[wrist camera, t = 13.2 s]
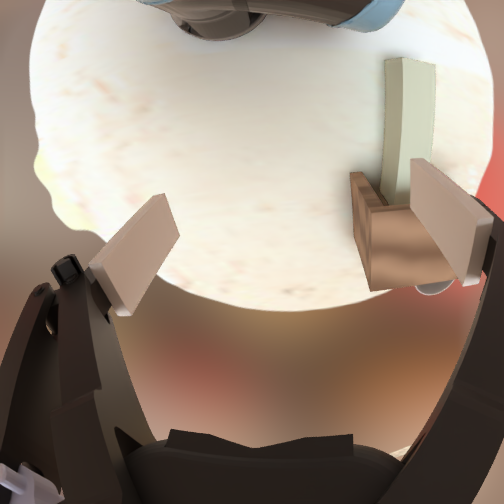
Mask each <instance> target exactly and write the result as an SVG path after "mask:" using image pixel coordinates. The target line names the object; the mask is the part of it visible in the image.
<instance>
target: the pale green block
mask: <svg viewBox="0 0 504 504" xmlns="http://www.w3.org/2000/svg"><path fill="white" fill-rule="evenodd" d="M435 94H436V67H435V64H431V63H427V62H422V61H418V60H413V59H408V58H396V59H390V60H385V128H384V146H383V160H382V172H381V182H380V192H381V194H382V195H383V197H384V198H385V200H386V201H387V203H388V204H389V206H391V205H402V204H410V159H412V158H424V159H425V160H426V161H428V162H429V163H430V161H431V153H432V144H433V132H434V118H435Z"/></svg>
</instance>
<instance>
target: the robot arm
mask: <svg viewBox="0 0 504 504" xmlns="http://www.w3.org/2000/svg"><path fill="white" fill-rule="evenodd" d="M136 1H137V2H140V3H142V4H143V3H144V4H146V5H151V6H154V7H156V8H159V9H161V10H164V11H166V12H168V13H170V14H171V16H172V18H173V20H174V22H175V23H176V24H177V25H178V26H179V27H180V28H181V29H182V30H183V31H185V32H186V33H188V34H190V35H192V36H195V37H197V38H200V39H204V40H209V41H224V40H230V39H234V38H237V37H240V36H242V35H244V34H246V33H248V32H250V31H251V30H253V29H254V28H255V27H257V26H258V25H259V24H260V23H261V22H262V21H263V19H264V18H265V16H266V15H267V14H274V15H282V16H288V17H295V18H300V19H306V20H311V21H316V22H321V23H325V24H326V25H327V26H329V27H333V28H340V27H341V28H346V29H350V30H354V31H358V32H365V33H366V32H372V31H377V30H379V29H381V28H382V27H384V26H385V25H386V24H388V23H389V22H390V21H391V20H392V19H393V17H394V16H395V15H396V14H397V12H398V11H399V9H400V8H401V6H402V5H403V3H404V1H405V0H136ZM410 208H411V209H412V211H413V212H414V213H415V215H416V216H417V217H418V219H419V220H420V222H421V223H422V224H423V226H424V227H425V228H426V230H427V231H428V233H429V234H430V236H431V237H432V238H433V240H434V241H435V243H436V244H437V246H438V247H439V249H440V250H441V252H442V253H443V255H444V256H445V258H446V260H447V261H448V263H449V264H450V266H451V268H452V269H453V271H454V272H455V274H456V276H457V277H458V279H459V281H460V282H461V284H462V286H469V285H473V284H478V283H479V280H480V277H481V273H482V270H483V271H484V273H485V274H486V276H487V279H486V282H485V285H484V288H483V291H482V295H481V297H480V303H479V306H478V309H477V312H476V315H475V318H474V321H473V324H472V327H471V330H470V332H469V335H468V337H467V340H466V343H465V345H464V348H463V350H462V353H461V355H460V357H459V360H458V362H457V364H456V366H455V369H454V371H453V373H452V375H451V378H450V379H449V382H448V384H447V386H446V388H445V390H444V392H443V394H442V396H441V398H440V399H439V401H438V403H437V405H436V407H435V409H434V410H433V412H432V414H431V416H430V417H429V419H428V421H427V423H426V424H425V426H424V428H423V430H422V431H421V432H420V434H419V435H418V437H417V439H416V440H415V441H414V443H413V444H412V446H411V447H410V448H409V450H408V451H407V453H406V454H405V455H404V457H403V458H402V460H401V461H399V460H397V459H396V458H394V457H393V456H391V455H389V454H387V453H385V452H383V451H380V450H378V449H375V448H372V447H368V446H363V445H356V444H353V434H347V435H338V436H326V437H325V436H324V437H307V438H306V437H305V438H301V439H297V440H293V441H289V442H285V443H280V444H275V445H271V446H266V447H260V448H250V447H246V446H243V445H240V444H236V443H234V442H231V441H228V440H225V439H222V438H219V437H216V436H213V435H210V434H203V433H195V432H188V431H181V430H175V429H171V430H170V433H169V436H168V439H166V440H161V441H156V439H155V438H154V436H153V434H152V432H151V430H150V428H149V426H148V423H147V421H146V418H145V416H144V413H143V411H142V408H141V406H140V403H139V401H138V398H137V396H136V393H135V390H134V387H133V385H132V382H131V379H130V376H129V373H128V370H127V367H126V364H125V361H124V358H123V355H122V352H121V348H120V345H119V342H118V338H117V335H116V331H115V327H114V324H113V320H112V317H111V316H110V314H109V313H108V310H109V308H110V307H111V306H112V307H113V308H114V310H115V312H116V313H117V315H118V316H132V314H133V312H134V310H135V309H136V307H137V305H138V304H139V302H140V300H141V298H142V297H143V295H144V293H145V292H146V290H147V288H148V287H149V285H150V283H151V281H152V280H153V278H154V277H155V275H156V273H157V272H158V270H159V268H160V267H161V265H162V263H163V262H164V260H165V259H166V257H167V255H168V254H169V252H170V251H171V249H172V248H173V246H174V244H175V243H176V241H177V240H178V238H179V237H180V234H179V232H178V229H177V226H176V224H175V221H174V218H173V215H172V213H171V210H170V207H169V204H168V201H167V198H166V196H165V193H163V194H159V195H155V196H152V197H151V198H150V199H149V200H148V201H147V202H146V203H145V204H144V205H143V206H142V207H141V208H140V209H139V210H138V211H137V212H136V213H135V214H134V215H133V216H132V217H131V218H130V219H129V220H128V221H127V222H126V224H125V225H124V226H123V227H122V228H121V229H120V230H119V231H118V232H117V233H116V234H115V235H114V236H113V237H112V238H111V239H110V240H109V242H108V243H107V244H106V245H105V246H104V247H103V248H102V249H101V251H99V253H98V254H97V255H96V256H95V257H94V258H93V259H92V261H91V262H90V263H89V264H88V265H89V267H88V268H87V269H86V270H85V271H83V269H82V267H81V265H80V263H79V261H78V260H77V258H76V256H75V254H70V255H67V256H65V257H63V258H62V259H60V260H59V261H57V262H56V263H55V264H54V265H53V267H52V268H51V272H52V273H53V275H54V277H55V279H56V280H57V282H58V283H59V285H60V289H58V290H55V291H54V290H53V289H52V287H51V285H50V284H49V283H43V284H41V285H38V286H37V287H35V288H34V290H33V291H32V293H31V294H30V296H29V298H28V300H27V302H26V304H25V306H24V308H23V310H22V313H21V315H20V317H19V320H18V322H17V324H16V327H15V329H14V331H13V334H12V336H11V339H10V342H9V344H8V347H7V349H6V352H5V355H4V358H3V360H2V364H1V366H0V504H471V503H472V502H473V500H474V498H475V497H476V495H477V493H478V491H479V490H480V488H481V486H482V484H483V482H484V480H485V478H486V476H487V474H488V472H489V470H490V468H491V466H492V464H493V462H494V460H495V457H496V455H497V453H498V450H499V448H500V445H501V443H502V441H503V438H504V222H503V221H502V220H501V219H500V218H499V217H498V216H497V215H496V214H495V213H494V212H493V211H491V210H490V209H489V208H488V207H487V206H486V205H485V204H484V203H483V202H482V201H481V200H479V199H478V198H476V197H474V196H472V195H469V194H468V193H467V192H466V191H464V190H463V189H462V188H461V187H460V186H459V185H457V184H456V183H455V182H454V181H452V180H451V179H450V178H449V177H447V176H446V175H445V174H444V173H442V172H441V171H440V170H438V169H437V168H436V167H435V166H433V165H432V164H431V163H429V162H428V161H426V160H425V159H424V158H412V159H410ZM46 325H47V326H48V327H49V329H50V330H51V331H52V335H51V334H50V332H49V331H48V329H47V327H46ZM21 463H22V465H21ZM61 487H62V490H63V494H64V497H63V496H61V495H60V492H61Z"/></svg>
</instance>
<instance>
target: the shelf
mask: <svg viewBox="0 0 504 504" xmlns="http://www.w3.org/2000/svg"><path fill="white" fill-rule="evenodd" d="M350 181H351V193H352V208H353V226H354V238H355V241H356V245H357V248H358V251H359V254H360V258H361V261H362V264H363V268H364V271H365V275H366V278H367V282H368V285H369V289H370V292H372V291H379V290H387V289H395V288H402V287H409V286H416V285H423V284H429V283H436V282H442V281H448V280H454V279H458V277H457V276H456V274H455V272H454V271H453V269H452V268H451V266H450V264H449V263H448V261H447V260H446V258H445V256H444V255H443V253H442V252H441V250H440V249H439V247H438V246H437V244H436V243H435V241H434V240H433V238H432V237H431V236H430V234H429V233H428V231H427V230H426V228H425V227H424V226H423V224H422V223H421V222H420V220H419V219H418V217H417V216H416V215H415V213H414V212H413V211H412V209H411V208H410V204H402V205H391V206H384V205H383V204H382V202H381V201H380V199H379V197H378V196H377V194H376V193H375V191H374V190H373V188H372V187H371V185H370V184H369V182H368V181H367V179H366V178H365V176H364V175H363V173H362V172H354V173H350Z"/></svg>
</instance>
